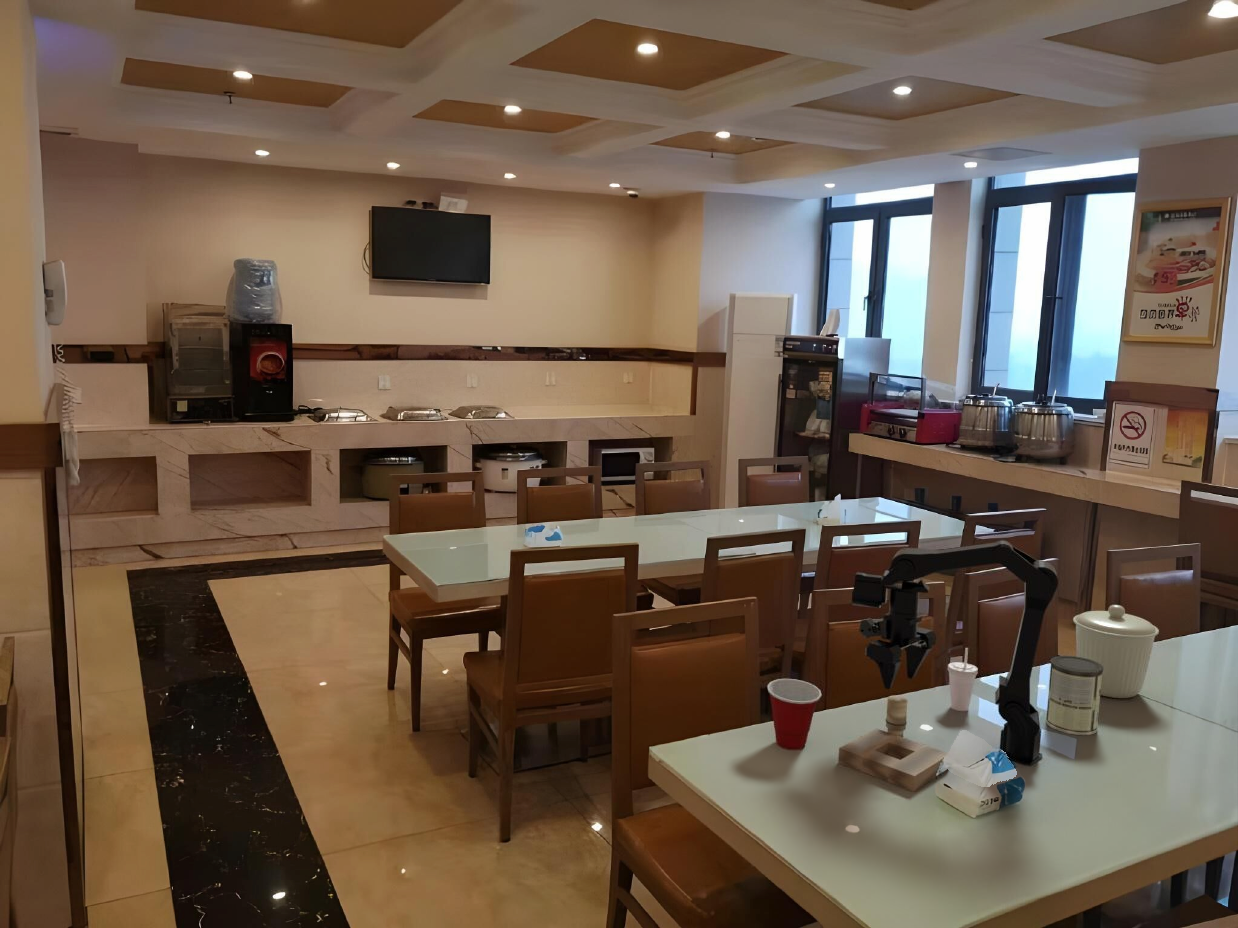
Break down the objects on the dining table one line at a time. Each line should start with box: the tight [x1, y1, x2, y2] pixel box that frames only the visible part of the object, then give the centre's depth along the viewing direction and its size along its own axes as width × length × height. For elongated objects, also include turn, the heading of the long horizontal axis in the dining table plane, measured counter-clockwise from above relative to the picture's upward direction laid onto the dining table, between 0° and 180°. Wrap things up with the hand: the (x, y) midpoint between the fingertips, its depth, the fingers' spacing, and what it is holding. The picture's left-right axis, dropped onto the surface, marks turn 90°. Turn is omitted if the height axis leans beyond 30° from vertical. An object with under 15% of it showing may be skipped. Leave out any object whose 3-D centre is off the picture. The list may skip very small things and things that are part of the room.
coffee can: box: [1045, 655, 1104, 736], centre depth 207 cm, size 10×10×14 cm
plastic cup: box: [767, 678, 822, 751], centre depth 194 cm, size 11×11×12 cm
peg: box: [885, 695, 909, 738], centre depth 200 cm, size 4×4×8 cm
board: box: [837, 728, 948, 792], centre depth 186 cm, size 16×14×3 cm
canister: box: [1072, 604, 1160, 699], centre depth 228 cm, size 18×18×21 cm
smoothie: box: [947, 647, 979, 712], centre depth 216 cm, size 6×6×14 cm
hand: (899, 683), depth 199 cm, fingers open, 9 cm apart
